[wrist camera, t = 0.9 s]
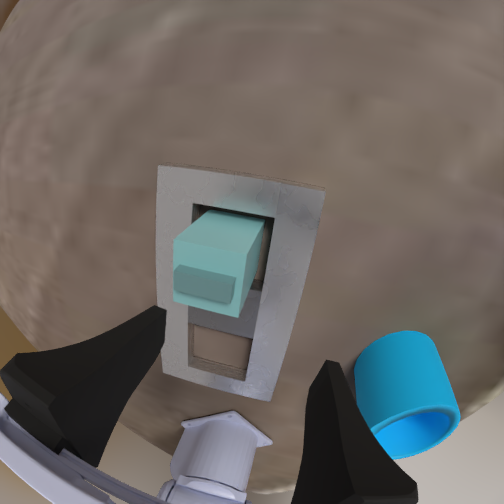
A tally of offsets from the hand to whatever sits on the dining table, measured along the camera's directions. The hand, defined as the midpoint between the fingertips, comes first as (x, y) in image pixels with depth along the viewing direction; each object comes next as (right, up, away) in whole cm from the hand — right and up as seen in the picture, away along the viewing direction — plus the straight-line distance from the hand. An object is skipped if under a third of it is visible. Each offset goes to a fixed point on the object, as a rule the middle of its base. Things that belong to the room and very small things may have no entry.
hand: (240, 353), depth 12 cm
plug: (-1, +5, +9) cm, 10 cm away
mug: (+15, -7, +11) cm, 20 cm away
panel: (-2, +1, +11) cm, 11 cm away
